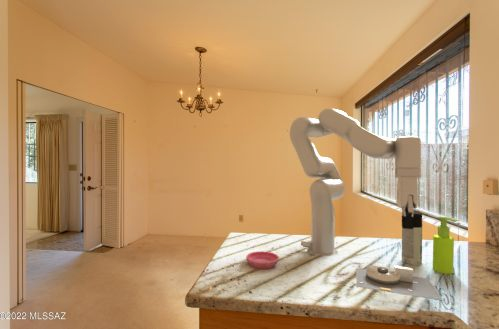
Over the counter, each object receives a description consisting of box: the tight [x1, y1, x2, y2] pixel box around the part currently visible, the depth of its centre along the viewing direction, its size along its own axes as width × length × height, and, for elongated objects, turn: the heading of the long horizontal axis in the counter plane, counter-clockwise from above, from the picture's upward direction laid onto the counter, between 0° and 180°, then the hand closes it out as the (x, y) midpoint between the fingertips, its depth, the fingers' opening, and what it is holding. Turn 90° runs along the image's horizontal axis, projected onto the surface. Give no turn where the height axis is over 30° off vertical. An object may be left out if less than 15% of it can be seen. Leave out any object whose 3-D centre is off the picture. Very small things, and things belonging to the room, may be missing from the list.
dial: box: [365, 265, 414, 285], centre depth 88 cm, size 14×10×4 cm
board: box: [355, 268, 443, 301], centre depth 86 cm, size 22×17×1 cm
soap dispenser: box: [432, 216, 459, 275], centre depth 95 cm, size 6×7×20 cm
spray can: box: [401, 211, 423, 266], centre depth 104 cm, size 7×7×20 cm
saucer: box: [245, 250, 280, 270], centre depth 103 cm, size 12×12×3 cm
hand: (407, 228), depth 91 cm, fingers closed
